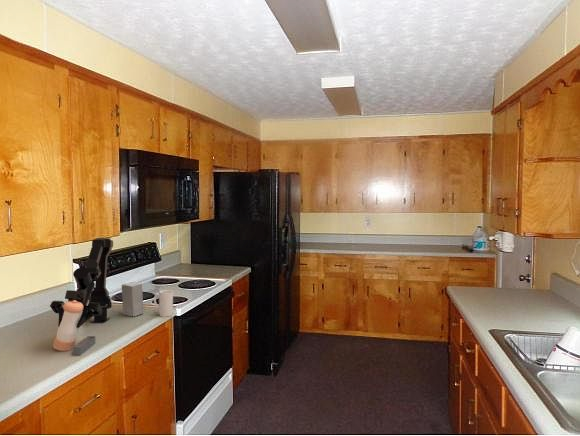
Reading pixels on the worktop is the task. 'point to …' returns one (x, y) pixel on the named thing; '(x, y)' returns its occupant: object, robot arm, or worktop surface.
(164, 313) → the mug
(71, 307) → the salt shaker
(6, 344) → the worktop surface
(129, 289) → the skincare box
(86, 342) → the steel bar
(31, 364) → the worktop surface
